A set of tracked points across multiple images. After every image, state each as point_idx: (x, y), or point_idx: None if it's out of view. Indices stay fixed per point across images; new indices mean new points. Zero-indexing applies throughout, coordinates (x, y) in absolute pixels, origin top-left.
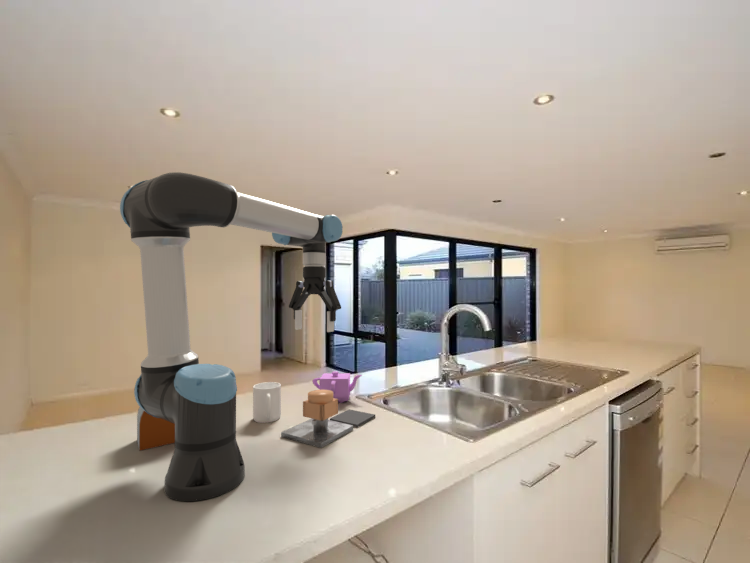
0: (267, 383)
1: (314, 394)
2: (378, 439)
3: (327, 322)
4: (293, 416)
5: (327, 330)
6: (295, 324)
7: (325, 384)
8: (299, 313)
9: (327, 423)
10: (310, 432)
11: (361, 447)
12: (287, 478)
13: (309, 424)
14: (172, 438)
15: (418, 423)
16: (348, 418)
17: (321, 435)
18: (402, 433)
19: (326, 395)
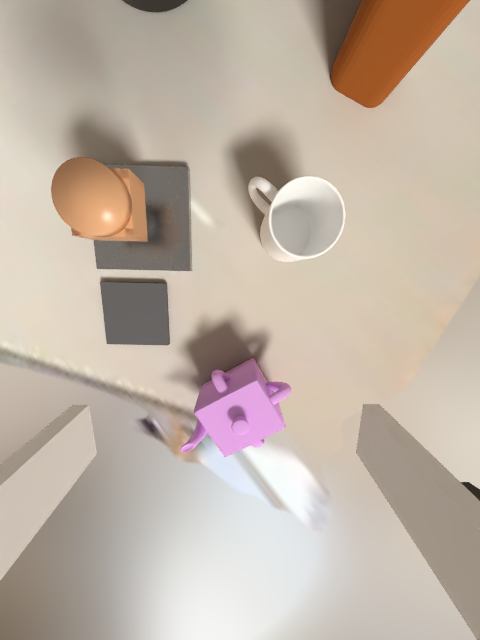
0: (328, 245)
1: (90, 175)
2: (37, 253)
3: (24, 460)
4: (246, 269)
5: (77, 411)
6: (400, 431)
7: (243, 379)
8: (476, 584)
9: None
10: None
11: (37, 208)
12: (47, 31)
13: (170, 230)
14: (358, 7)
15: (28, 352)
16: (135, 301)
17: None
18: (22, 298)
19: (55, 183)
